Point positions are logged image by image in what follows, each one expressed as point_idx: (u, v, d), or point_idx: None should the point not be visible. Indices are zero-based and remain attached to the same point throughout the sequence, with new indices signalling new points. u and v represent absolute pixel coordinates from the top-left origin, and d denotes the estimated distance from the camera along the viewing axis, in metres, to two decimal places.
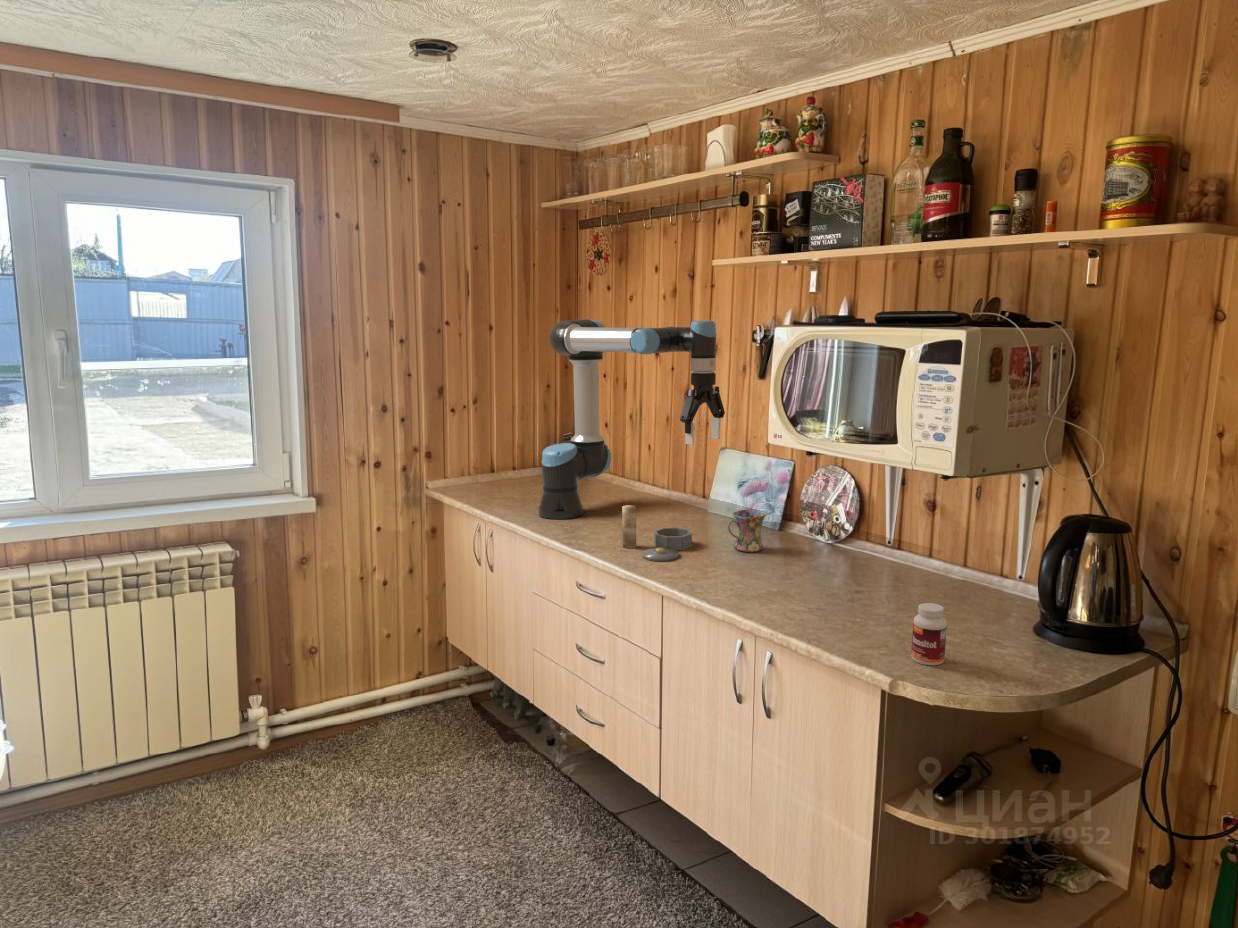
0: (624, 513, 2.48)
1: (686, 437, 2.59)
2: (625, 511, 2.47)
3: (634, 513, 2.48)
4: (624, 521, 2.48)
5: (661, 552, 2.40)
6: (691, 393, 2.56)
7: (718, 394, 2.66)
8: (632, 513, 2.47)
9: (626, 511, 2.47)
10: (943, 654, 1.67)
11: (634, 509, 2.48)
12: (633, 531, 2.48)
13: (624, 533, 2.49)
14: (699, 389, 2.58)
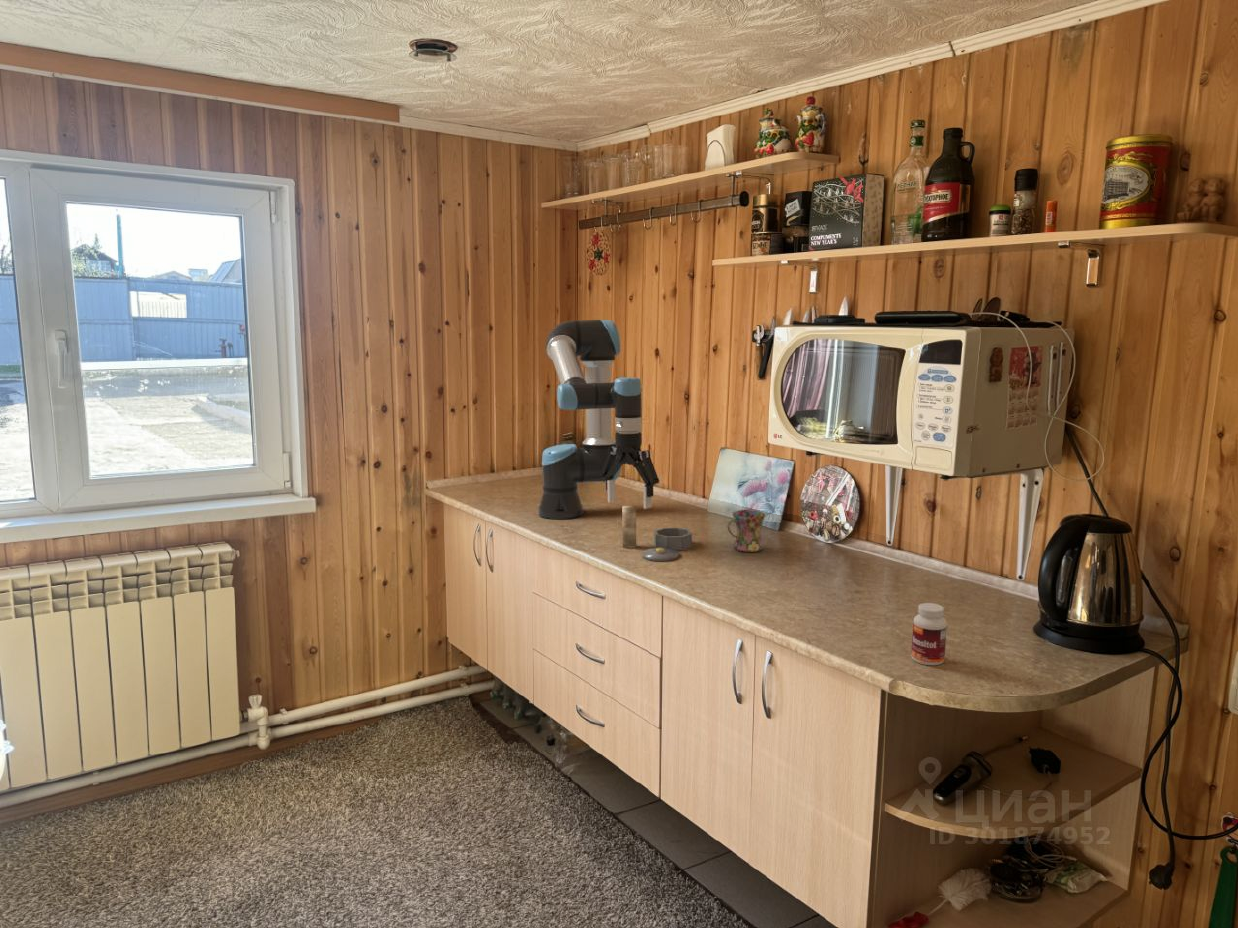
0: (624, 513, 2.48)
1: None
2: (625, 511, 2.47)
3: (634, 513, 2.48)
4: (624, 521, 2.48)
5: (661, 552, 2.40)
6: None
7: (643, 459, 2.41)
8: (632, 513, 2.47)
9: (626, 511, 2.47)
10: (943, 654, 1.67)
11: (634, 509, 2.48)
12: (633, 531, 2.48)
13: (624, 533, 2.49)
14: (617, 448, 2.47)
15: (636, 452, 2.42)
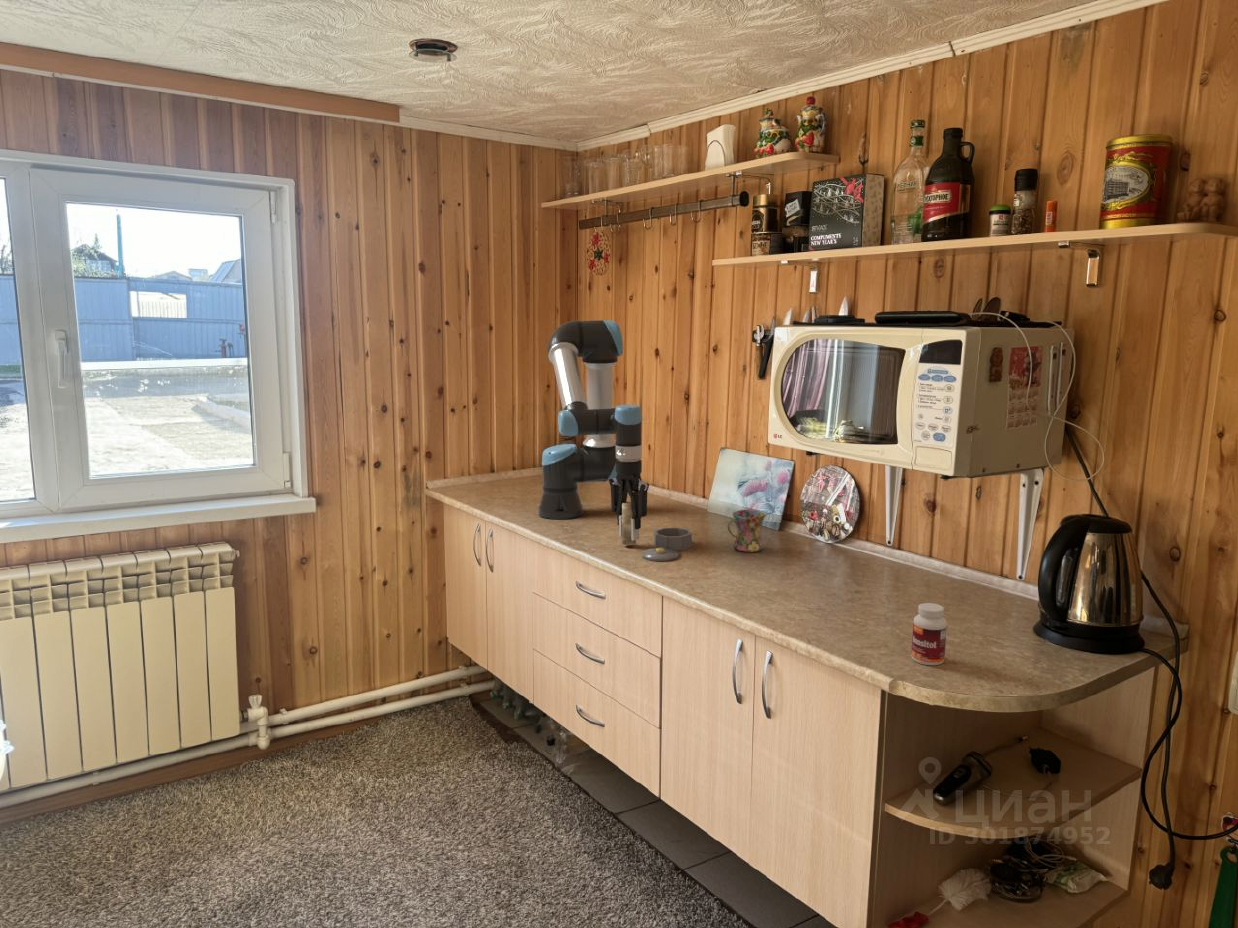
0: (624, 510, 2.48)
1: None
2: (625, 508, 2.47)
3: None
4: (624, 518, 2.48)
5: (661, 552, 2.40)
6: None
7: (640, 492, 2.44)
8: None
9: (625, 508, 2.47)
10: (943, 654, 1.67)
11: None
12: None
13: (624, 529, 2.49)
14: (616, 475, 2.49)
15: (636, 481, 2.44)
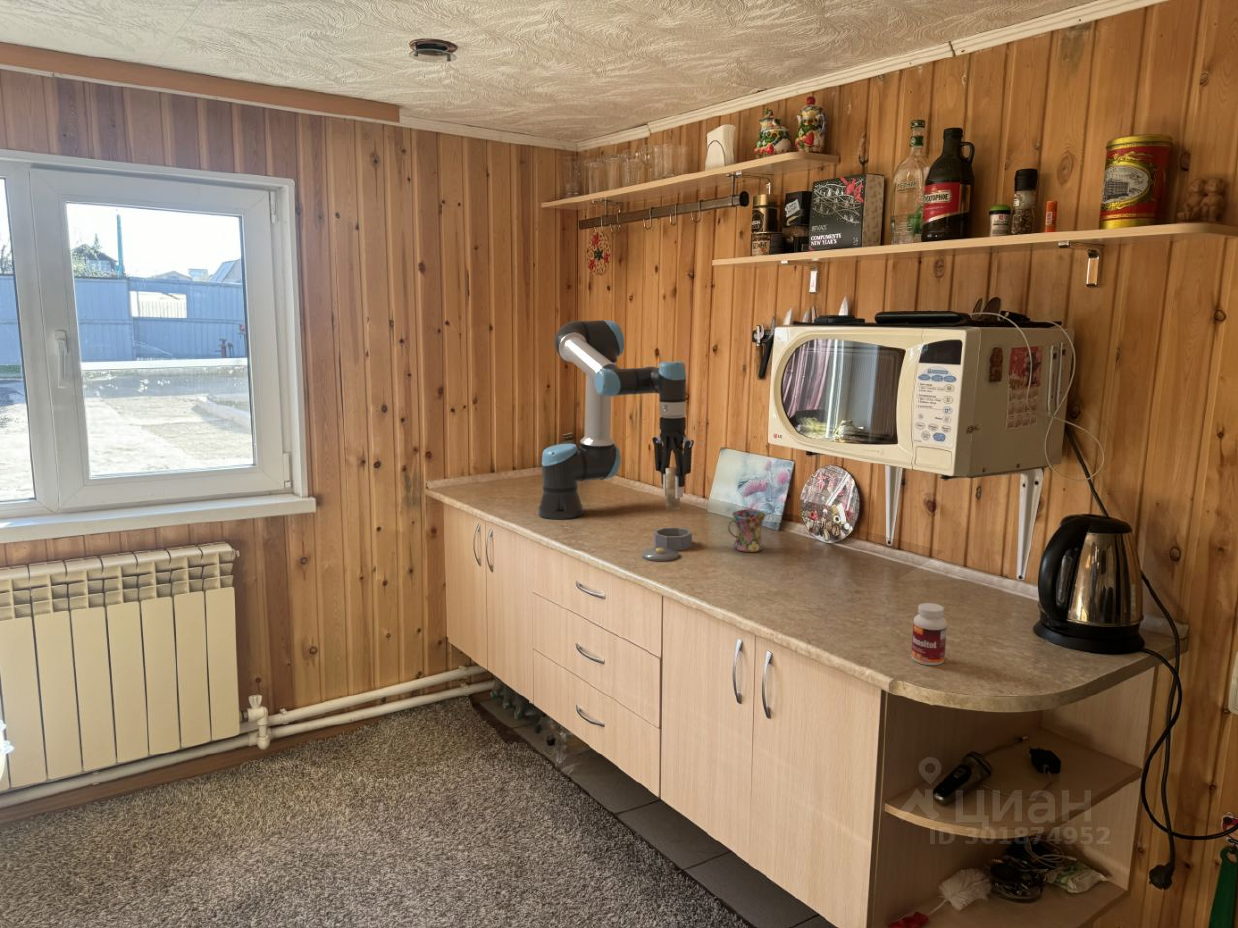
0: (668, 474, 2.46)
1: None
2: (669, 472, 2.46)
3: None
4: (668, 482, 2.47)
5: (661, 552, 2.40)
6: None
7: (685, 448, 2.42)
8: None
9: (670, 472, 2.46)
10: (943, 654, 1.67)
11: None
12: None
13: (668, 495, 2.47)
14: (660, 433, 2.47)
15: (681, 438, 2.43)
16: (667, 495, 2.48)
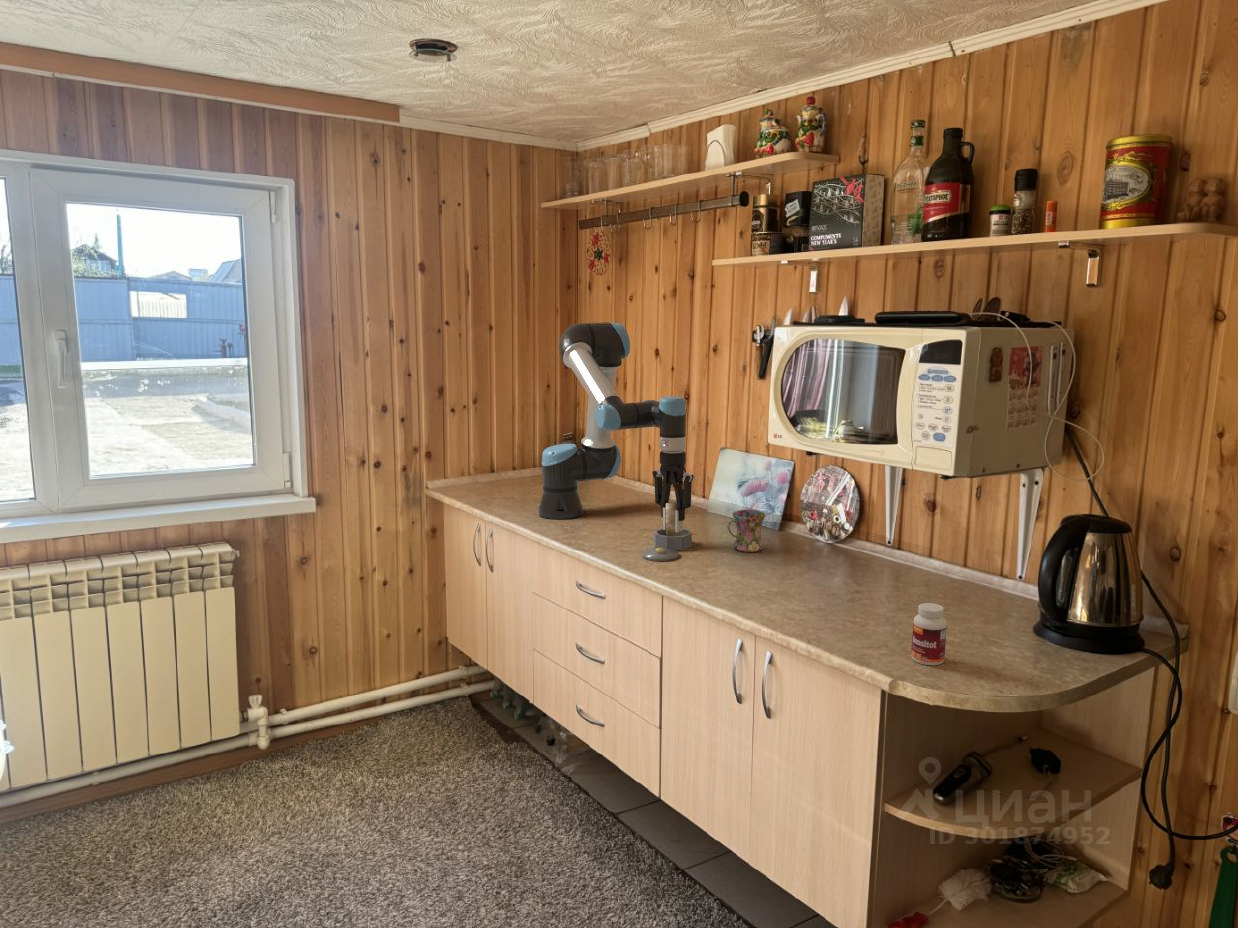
0: (668, 510, 2.48)
1: None
2: (669, 508, 2.48)
3: None
4: (668, 518, 2.49)
5: (661, 552, 2.40)
6: None
7: (685, 483, 2.44)
8: None
9: (670, 508, 2.48)
10: (943, 654, 1.67)
11: None
12: None
13: (668, 530, 2.49)
14: (660, 467, 2.49)
15: (681, 472, 2.45)
16: (667, 530, 2.50)
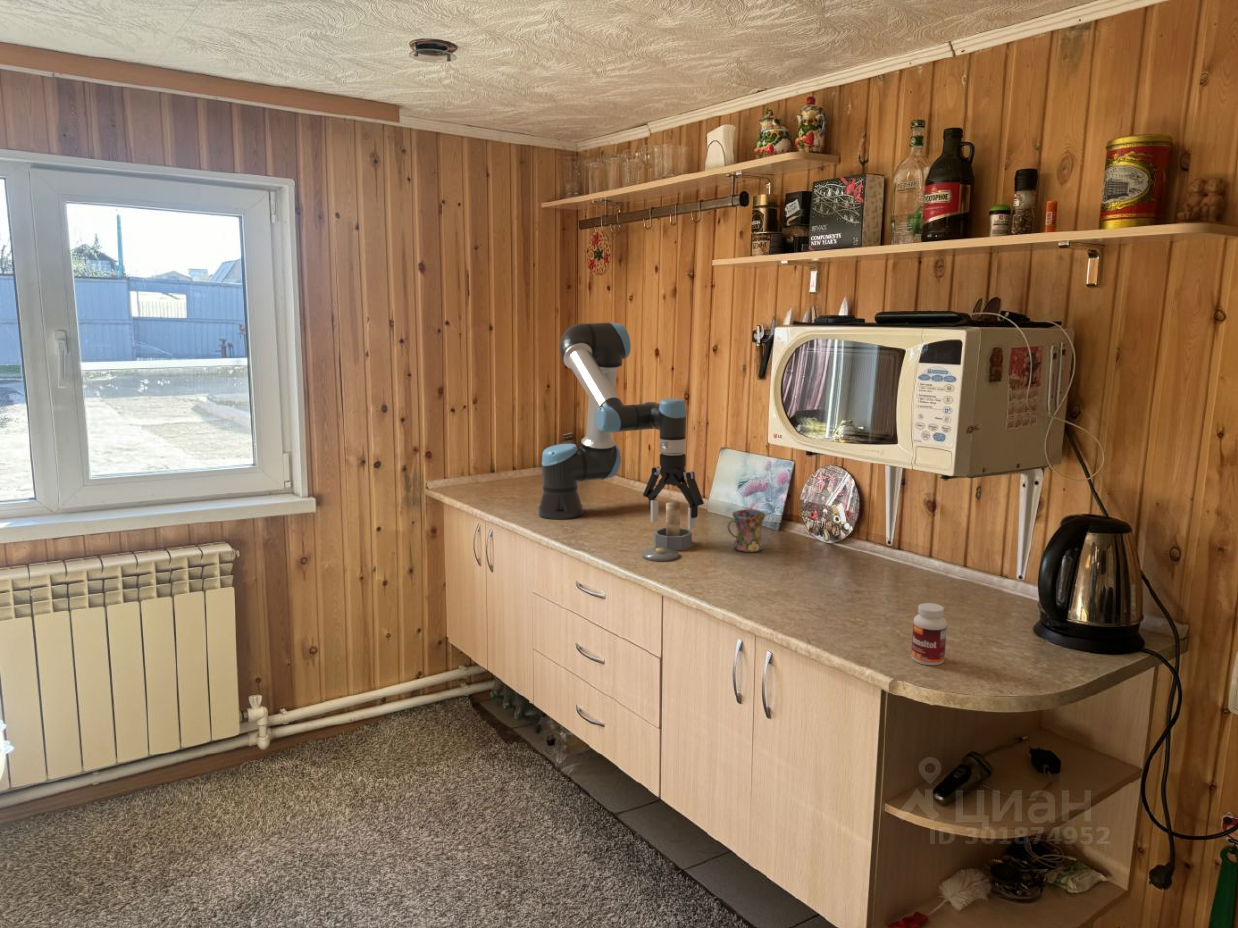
0: (668, 510, 2.48)
1: None
2: (669, 508, 2.48)
3: (678, 510, 2.48)
4: (668, 518, 2.49)
5: (661, 552, 2.40)
6: None
7: (688, 481, 2.43)
8: (676, 510, 2.48)
9: (670, 508, 2.48)
10: (943, 654, 1.67)
11: (678, 506, 2.48)
12: (677, 527, 2.49)
13: (668, 530, 2.49)
14: (661, 469, 2.49)
15: (681, 473, 2.45)
16: (667, 530, 2.50)
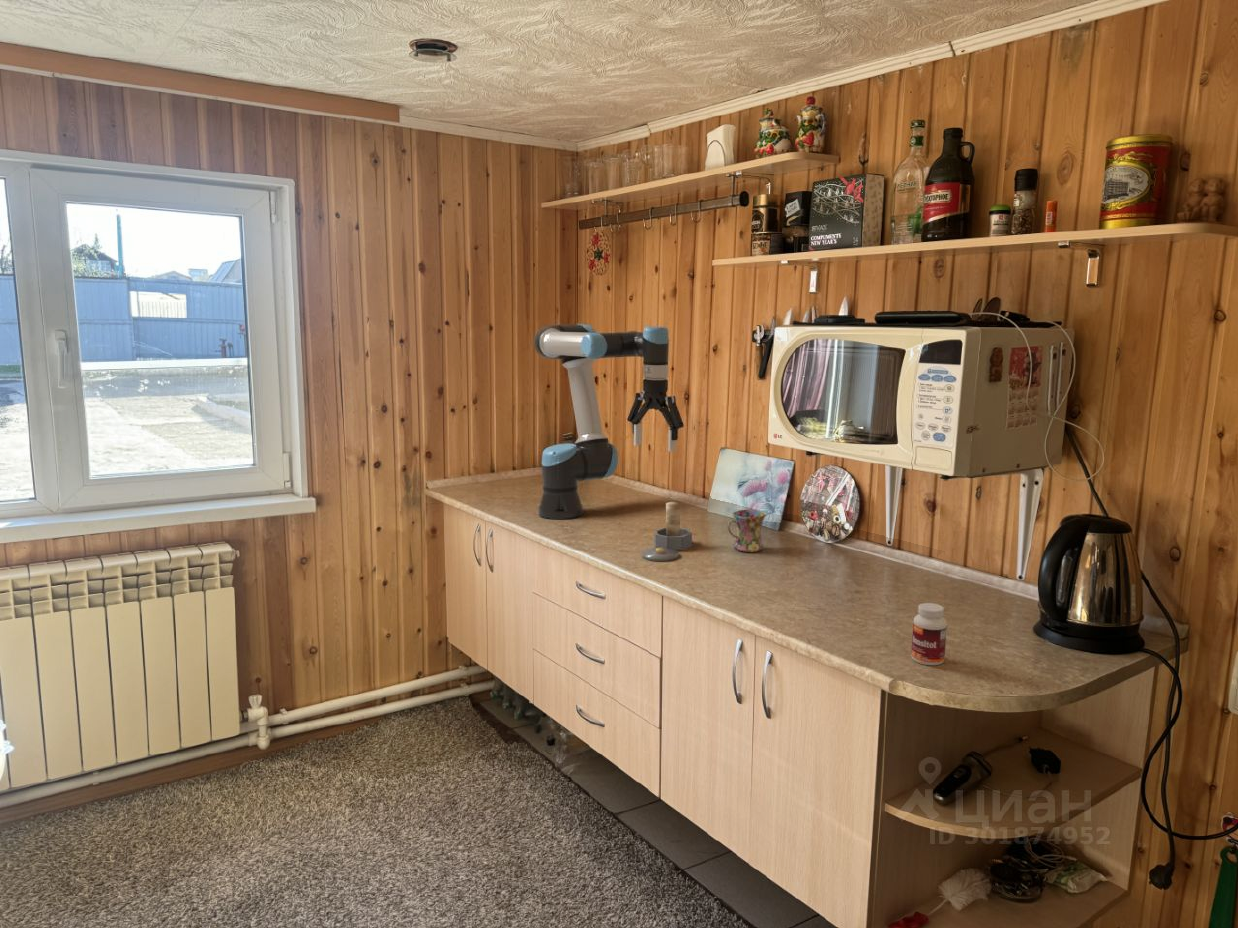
0: (668, 510, 2.48)
1: None
2: (669, 508, 2.48)
3: (678, 510, 2.48)
4: (668, 518, 2.49)
5: (661, 552, 2.40)
6: None
7: (669, 404, 2.55)
8: (676, 510, 2.48)
9: (670, 508, 2.48)
10: (943, 654, 1.67)
11: (678, 506, 2.48)
12: (677, 527, 2.49)
13: (668, 530, 2.49)
14: (644, 394, 2.61)
15: (662, 398, 2.57)
16: (667, 530, 2.50)
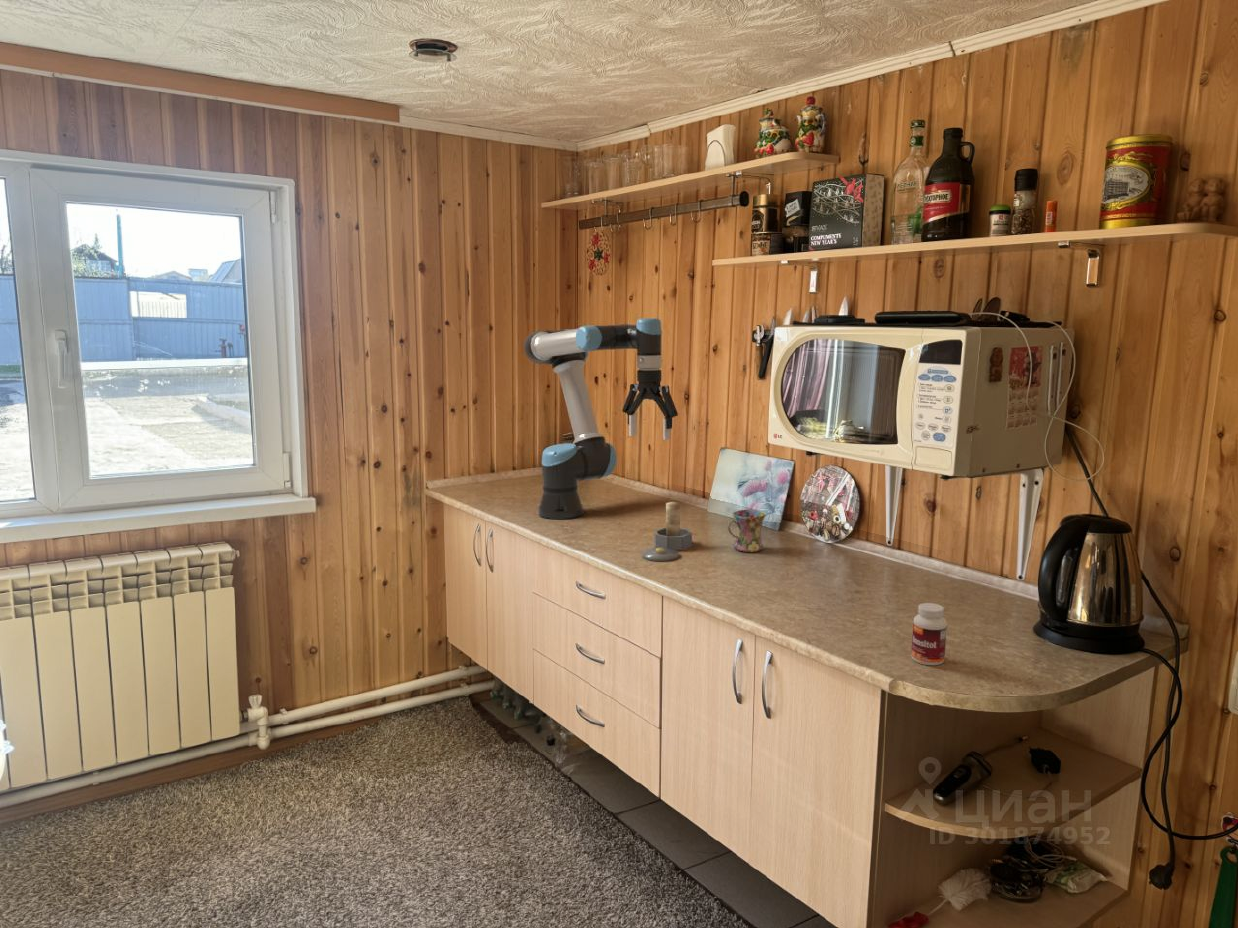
0: (668, 510, 2.48)
1: None
2: (669, 508, 2.48)
3: (678, 510, 2.48)
4: (668, 518, 2.49)
5: (661, 552, 2.40)
6: None
7: (663, 394, 2.61)
8: (676, 510, 2.48)
9: (670, 508, 2.48)
10: (943, 654, 1.67)
11: (678, 506, 2.48)
12: (677, 527, 2.49)
13: (668, 530, 2.49)
14: (638, 384, 2.67)
15: (656, 387, 2.62)
16: (667, 530, 2.50)
